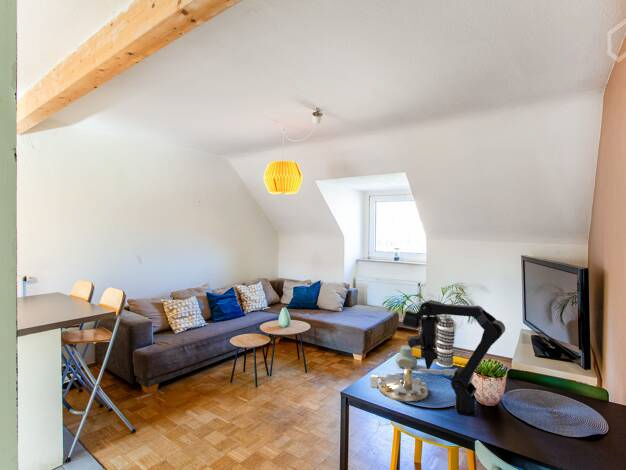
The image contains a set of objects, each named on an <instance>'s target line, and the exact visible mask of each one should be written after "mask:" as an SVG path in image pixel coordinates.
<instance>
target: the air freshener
mask: <svg viewBox="0 0 626 470" xmlns="http://www.w3.org/2000/svg"><path fill="white" fill-rule="evenodd" d="M394 359H395V363H396V365H398V366H399V367H401V368H402V369H404V368H411V369H412V368H415V367H416V366H417V365H418V360H417V358H416V356H415V355H413V348H410V347H409V345H401V346H400V352H399V354H397V355H396V356H395V358H394Z"/></svg>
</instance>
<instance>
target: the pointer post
mask: <svg viewBox="0 0 626 470" xmlns="http://www.w3.org/2000/svg"><path fill="white" fill-rule="evenodd" d="M382 377H383V376H379V375H377V374H371V375H370V388H375V389H376V388H377V389H378V388H379V379H380V380H381V379H382Z"/></svg>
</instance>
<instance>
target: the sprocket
mask: <svg viewBox="0 0 626 470" xmlns="http://www.w3.org/2000/svg"><path fill="white" fill-rule="evenodd" d="M413 373H414V371H413V369H412V368H403V374H401V373H399V372H396V373H395V374H391V373H387V374H386V376H381V377H382V379H381V378H380V380H379V382H380V385H381V386H385V391H392V392H394V395H399V394H404V395H406V396H407V397H411V395H413V394H416V395H417V396H420V395H421V392H426V387H427V383H426V382H425V381H421V377H418V376H417V377H413Z"/></svg>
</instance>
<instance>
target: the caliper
mask: <svg viewBox="0 0 626 470" xmlns="http://www.w3.org/2000/svg"><path fill="white" fill-rule="evenodd" d="M457 369H458V367H453V369H451V368H449V369H448V368H444V369H435V368H434V369H427V368H419V369H417V370H416V372H419V373H424V374H425V373H427V374H441V375H442V374H444V376H448V377H449V376H451V377H453V376H454V373H455V371H456V370H457Z"/></svg>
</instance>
